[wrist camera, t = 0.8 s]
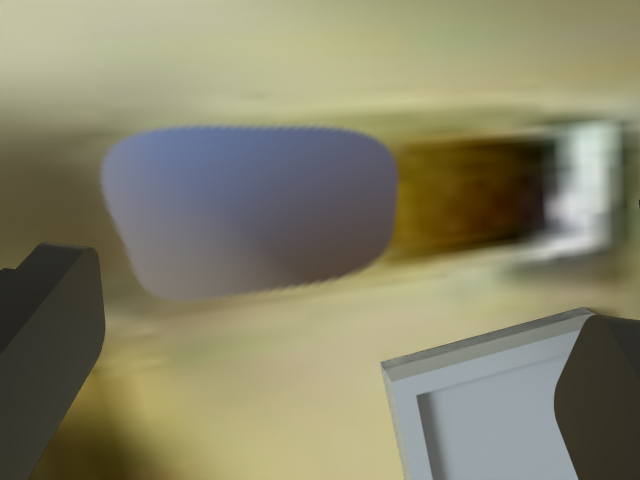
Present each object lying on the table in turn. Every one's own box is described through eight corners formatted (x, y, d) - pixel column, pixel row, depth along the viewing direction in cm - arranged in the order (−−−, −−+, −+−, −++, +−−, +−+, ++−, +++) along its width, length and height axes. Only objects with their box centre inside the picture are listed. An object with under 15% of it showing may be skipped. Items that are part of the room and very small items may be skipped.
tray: (380, 362, 33) (391, 382, 31) (583, 307, 35) (609, 321, 32) (418, 541, 37) (430, 571, 34) (603, 485, 38) (628, 510, 35)
